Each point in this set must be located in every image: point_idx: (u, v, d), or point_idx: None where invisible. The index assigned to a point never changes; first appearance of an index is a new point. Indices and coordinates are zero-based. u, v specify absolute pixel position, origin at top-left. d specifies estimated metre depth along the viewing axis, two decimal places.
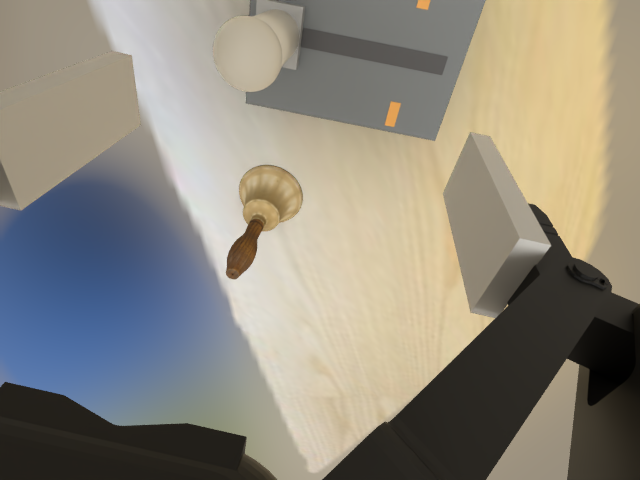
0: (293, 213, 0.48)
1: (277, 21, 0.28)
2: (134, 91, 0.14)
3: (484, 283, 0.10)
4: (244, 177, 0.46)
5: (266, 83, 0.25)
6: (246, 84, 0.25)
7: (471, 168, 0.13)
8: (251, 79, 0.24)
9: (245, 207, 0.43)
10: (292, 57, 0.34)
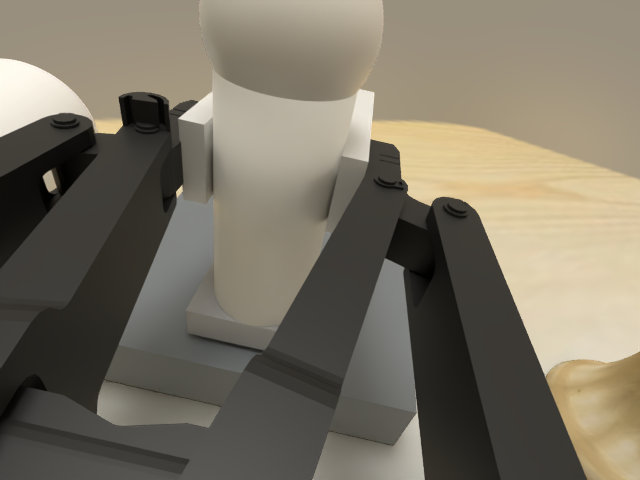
0: None
1: None
2: None
3: (331, 203, 0.12)
4: None
5: None
6: None
7: None
8: None
9: None
10: None
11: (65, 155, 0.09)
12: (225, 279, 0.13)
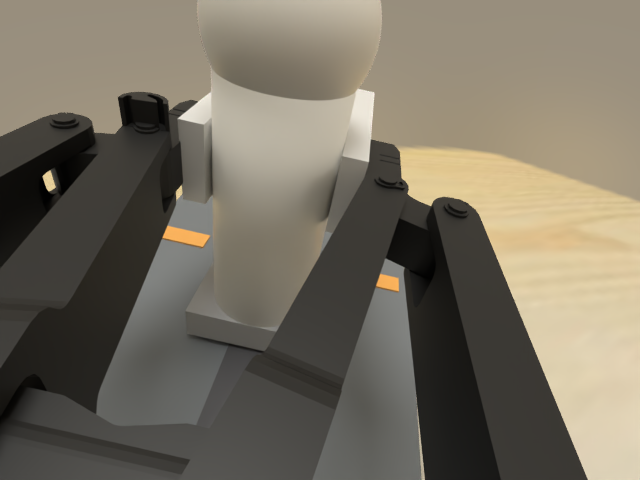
0: None
1: None
2: None
3: (331, 204, 0.12)
4: None
5: None
6: None
7: None
8: None
9: None
10: None
11: (65, 155, 0.09)
12: (225, 280, 0.13)
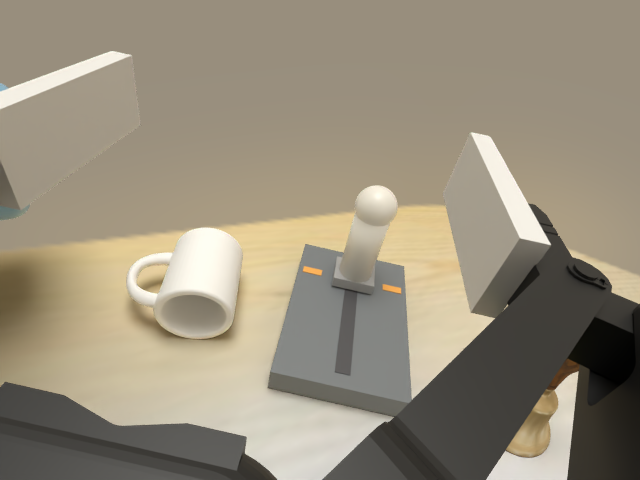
0: None
1: None
2: (134, 91, 0.14)
3: (484, 283, 0.10)
4: None
5: None
6: (393, 194, 0.40)
7: (471, 168, 0.13)
8: (389, 190, 0.40)
9: None
10: None
11: None
12: (348, 267, 0.44)
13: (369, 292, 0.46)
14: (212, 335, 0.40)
